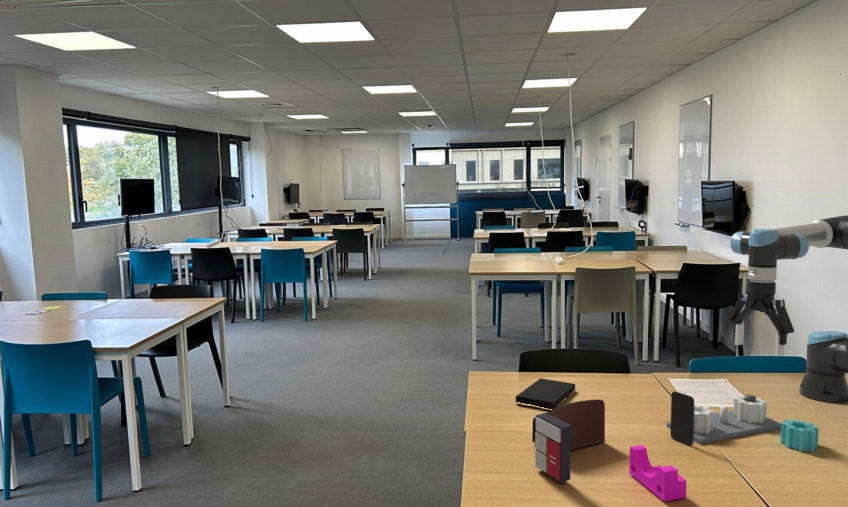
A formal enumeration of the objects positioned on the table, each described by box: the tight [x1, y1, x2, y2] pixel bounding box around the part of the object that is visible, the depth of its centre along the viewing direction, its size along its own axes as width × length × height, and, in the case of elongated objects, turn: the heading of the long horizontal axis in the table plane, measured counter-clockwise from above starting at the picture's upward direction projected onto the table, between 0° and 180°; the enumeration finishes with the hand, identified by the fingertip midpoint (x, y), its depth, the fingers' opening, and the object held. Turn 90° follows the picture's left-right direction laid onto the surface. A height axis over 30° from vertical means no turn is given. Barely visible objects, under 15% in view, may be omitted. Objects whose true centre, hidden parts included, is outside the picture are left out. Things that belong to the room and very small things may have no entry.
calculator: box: [534, 412, 572, 483], centre depth 161 cm, size 11×4×15 cm, turn 28°
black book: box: [515, 377, 576, 409], centre depth 220 cm, size 14×23×3 cm, turn 147°
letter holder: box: [531, 399, 606, 451], centre depth 181 cm, size 10×20×14 cm, turn 113°
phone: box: [670, 391, 695, 447], centre depth 178 cm, size 7×1×15 cm, turn 31°
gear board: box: [666, 394, 781, 445], centre depth 188 cm, size 32×14×9 cm, turn 109°
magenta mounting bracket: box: [628, 444, 688, 502], centre depth 154 cm, size 15×6×8 cm, turn 14°
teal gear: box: [780, 419, 819, 452], centre depth 175 cm, size 9×9×6 cm
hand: (758, 349), depth 181 cm, fingers open, 13 cm apart
